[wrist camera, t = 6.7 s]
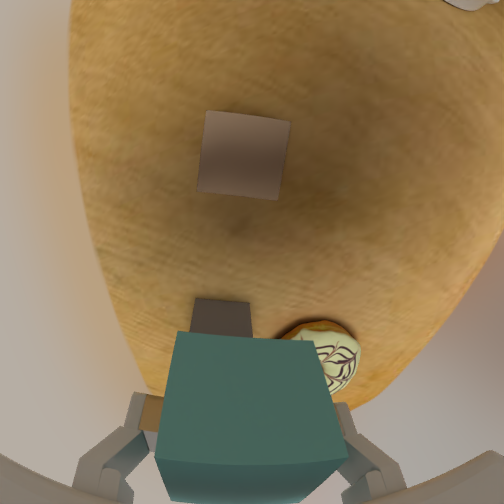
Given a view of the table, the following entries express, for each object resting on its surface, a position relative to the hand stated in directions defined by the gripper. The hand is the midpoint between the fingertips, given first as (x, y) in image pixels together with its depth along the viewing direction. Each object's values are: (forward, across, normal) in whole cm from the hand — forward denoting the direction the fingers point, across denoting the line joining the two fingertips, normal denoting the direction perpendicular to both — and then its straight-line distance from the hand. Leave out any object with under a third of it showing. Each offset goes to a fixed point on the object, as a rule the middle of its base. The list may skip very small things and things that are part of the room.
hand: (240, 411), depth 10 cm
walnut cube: (+16, +1, -8) cm, 18 cm away
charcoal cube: (+16, 0, +8) cm, 18 cm away
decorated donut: (+16, -10, +12) cm, 23 cm away
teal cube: (+2, 0, 0) cm, 2 cm away
